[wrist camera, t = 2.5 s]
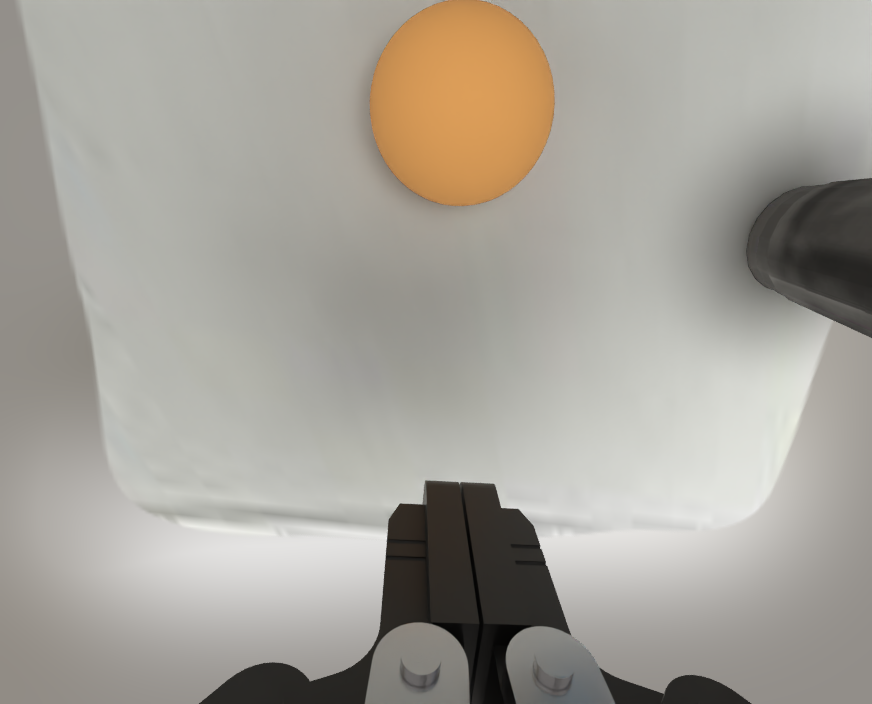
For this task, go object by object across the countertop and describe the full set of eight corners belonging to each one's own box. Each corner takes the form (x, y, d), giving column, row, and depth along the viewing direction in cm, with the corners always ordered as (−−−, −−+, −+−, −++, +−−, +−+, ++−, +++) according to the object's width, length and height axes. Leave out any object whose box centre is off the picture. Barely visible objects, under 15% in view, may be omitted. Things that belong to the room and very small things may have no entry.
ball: (381, 22, 17) (363, -52, 12) (542, 41, 18) (600, -23, 12) (373, 195, 20) (356, 201, 14) (519, 208, 20) (559, 220, 14)
